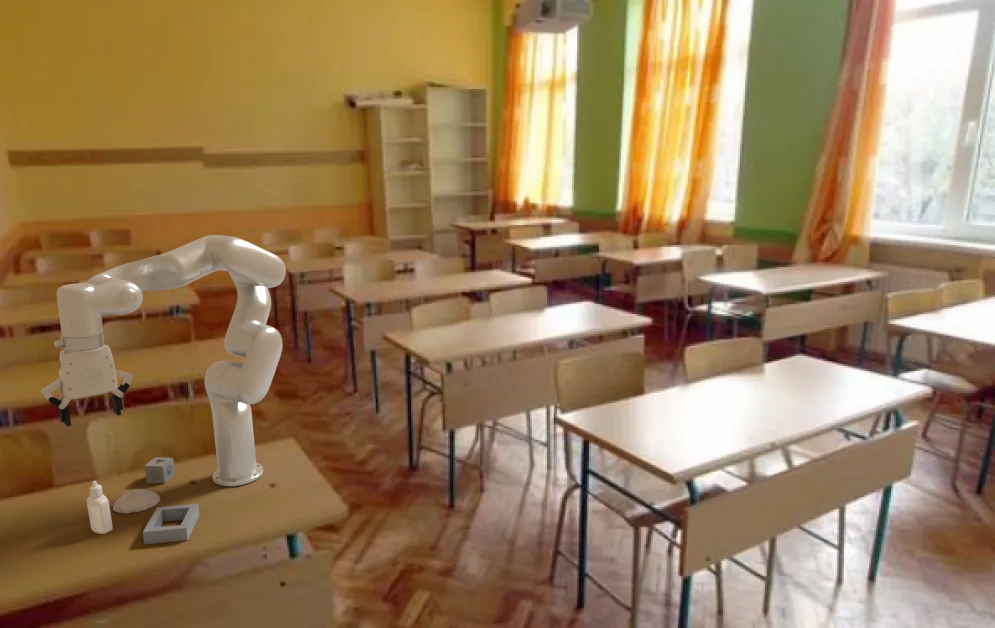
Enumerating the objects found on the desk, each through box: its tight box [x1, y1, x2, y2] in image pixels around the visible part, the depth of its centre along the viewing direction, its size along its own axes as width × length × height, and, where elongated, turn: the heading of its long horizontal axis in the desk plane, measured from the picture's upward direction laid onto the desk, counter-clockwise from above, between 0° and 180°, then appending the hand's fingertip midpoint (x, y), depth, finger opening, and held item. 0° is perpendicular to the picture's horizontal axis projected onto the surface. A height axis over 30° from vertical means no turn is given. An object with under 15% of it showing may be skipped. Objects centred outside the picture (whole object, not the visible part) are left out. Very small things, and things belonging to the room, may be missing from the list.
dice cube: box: [143, 456, 176, 485], centre depth 183 cm, size 5×5×5 cm
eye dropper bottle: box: [86, 480, 114, 535], centre depth 158 cm, size 4×6×12 cm
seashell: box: [112, 488, 161, 514], centre depth 170 cm, size 10×6×10 cm
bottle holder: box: [142, 503, 200, 545], centre depth 159 cm, size 11×9×3 cm
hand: (92, 419), depth 150 cm, fingers open, 9 cm apart
